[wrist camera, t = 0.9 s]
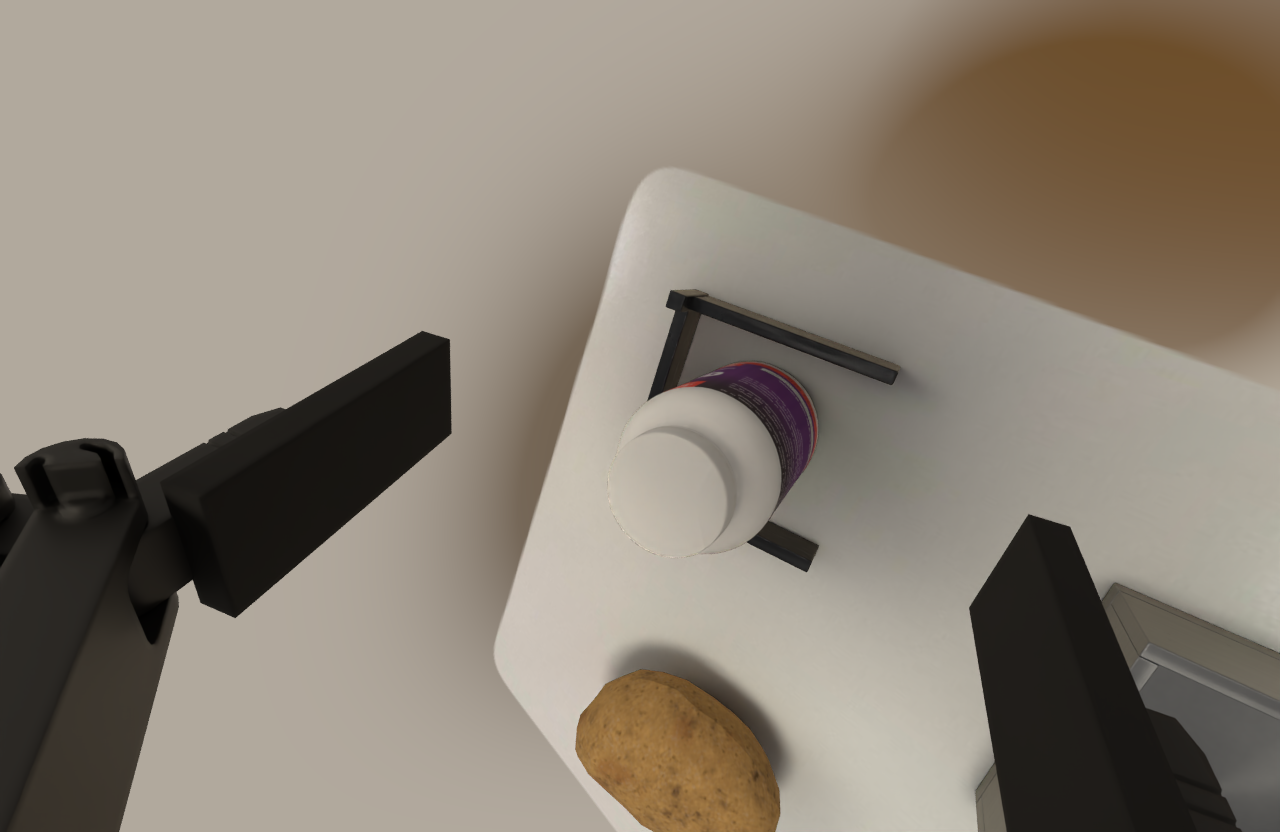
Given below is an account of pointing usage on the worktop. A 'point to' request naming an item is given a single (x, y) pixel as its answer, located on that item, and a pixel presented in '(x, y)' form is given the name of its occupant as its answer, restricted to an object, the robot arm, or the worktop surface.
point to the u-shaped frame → (698, 303)
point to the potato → (677, 757)
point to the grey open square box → (1196, 703)
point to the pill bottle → (711, 459)
